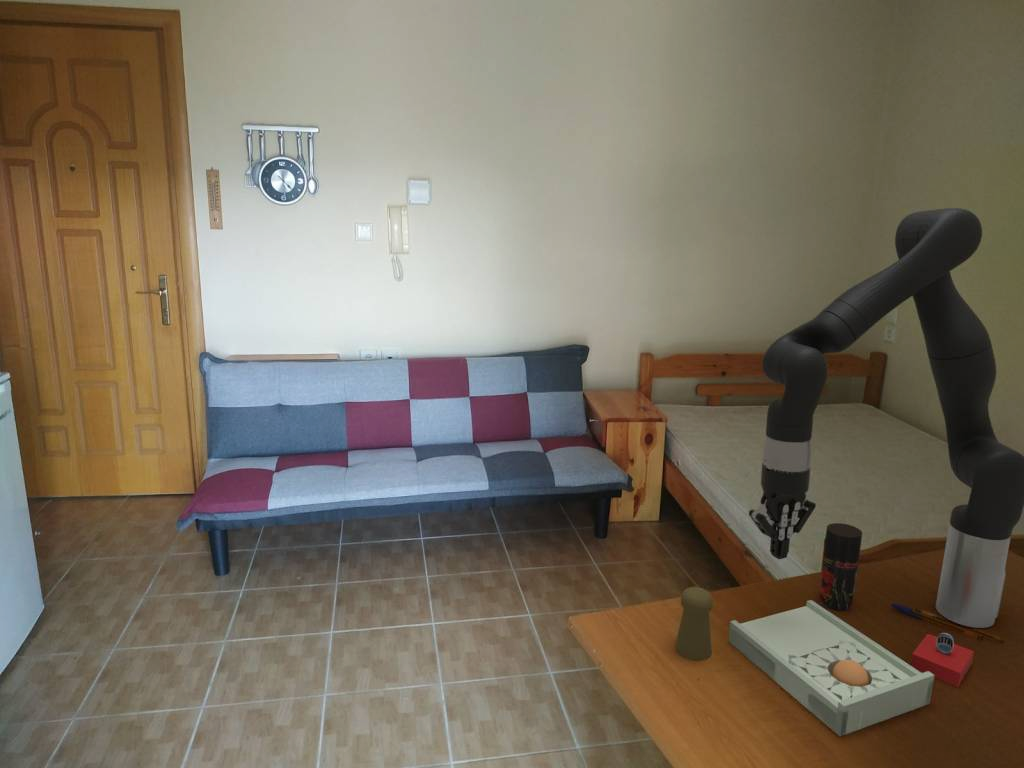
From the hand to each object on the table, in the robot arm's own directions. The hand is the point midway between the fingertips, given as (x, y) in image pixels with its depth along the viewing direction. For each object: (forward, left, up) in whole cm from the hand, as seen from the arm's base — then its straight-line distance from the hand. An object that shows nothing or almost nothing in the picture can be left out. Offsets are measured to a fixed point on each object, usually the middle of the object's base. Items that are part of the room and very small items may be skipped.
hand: (778, 556), depth 119 cm
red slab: (-19, +18, -15) cm, 30 cm away
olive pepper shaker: (+16, -1, -15) cm, 22 cm away
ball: (0, +17, -12) cm, 21 cm away
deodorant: (-18, -3, -15) cm, 23 cm away
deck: (0, +12, -15) cm, 19 cm away
